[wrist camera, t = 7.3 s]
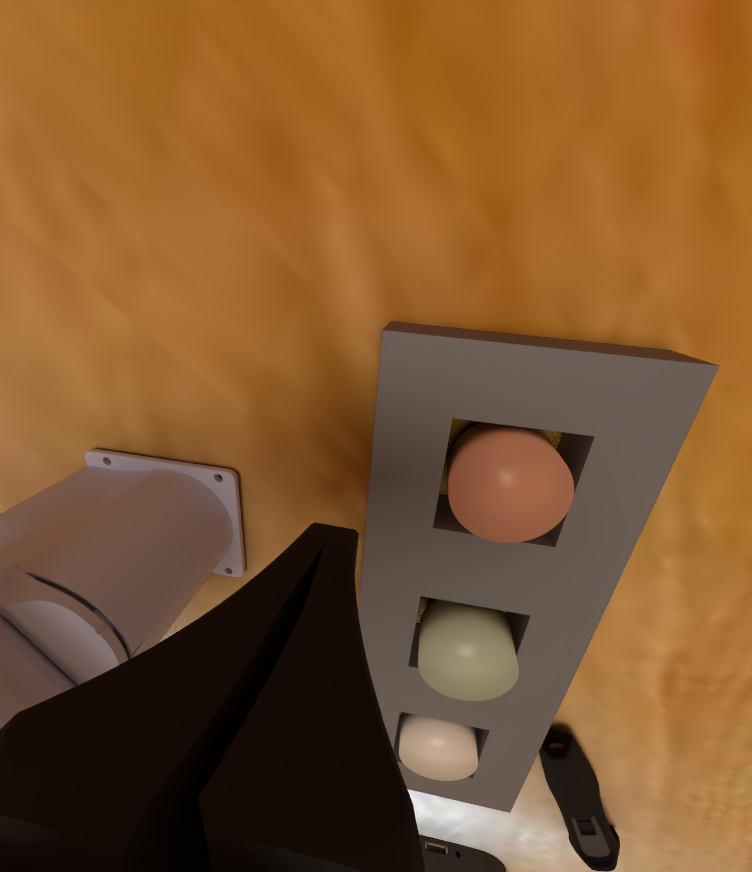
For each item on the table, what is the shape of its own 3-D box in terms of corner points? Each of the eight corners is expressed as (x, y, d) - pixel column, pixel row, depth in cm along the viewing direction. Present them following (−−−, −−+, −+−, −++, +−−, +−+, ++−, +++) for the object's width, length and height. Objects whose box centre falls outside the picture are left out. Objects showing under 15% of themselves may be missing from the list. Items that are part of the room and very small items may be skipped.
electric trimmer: (576, 708, 26) (593, 761, 23) (616, 829, 31) (634, 886, 28) (521, 712, 27) (531, 764, 24) (568, 828, 32) (581, 883, 29)
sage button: (414, 649, 22) (412, 690, 20) (425, 588, 20) (425, 626, 18) (499, 665, 22) (506, 709, 19) (519, 604, 20) (530, 645, 17)
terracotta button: (439, 503, 19) (440, 532, 17) (456, 411, 17) (459, 431, 15) (540, 518, 18) (554, 551, 16) (570, 426, 16) (590, 449, 14)
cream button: (398, 730, 27) (394, 770, 25) (406, 687, 25) (403, 727, 23) (467, 745, 26) (469, 787, 24) (480, 703, 24) (485, 744, 22)
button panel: (352, 729, 30) (344, 774, 27) (390, 321, 17) (382, 330, 14) (503, 761, 29) (510, 812, 26) (669, 350, 16) (719, 365, 13)
